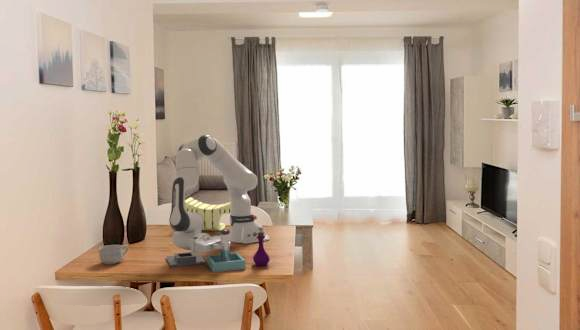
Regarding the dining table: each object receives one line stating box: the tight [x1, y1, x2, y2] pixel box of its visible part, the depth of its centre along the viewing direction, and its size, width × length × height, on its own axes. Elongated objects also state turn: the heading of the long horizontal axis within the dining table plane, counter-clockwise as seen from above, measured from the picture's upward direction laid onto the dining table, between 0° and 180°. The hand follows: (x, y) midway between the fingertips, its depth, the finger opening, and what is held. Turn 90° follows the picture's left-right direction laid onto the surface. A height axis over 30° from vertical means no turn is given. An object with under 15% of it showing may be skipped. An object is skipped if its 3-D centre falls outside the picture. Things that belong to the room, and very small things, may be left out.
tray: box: [205, 252, 247, 273], centre depth 273 cm, size 15×15×4 cm
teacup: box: [98, 244, 129, 265], centre depth 281 cm, size 14×11×8 cm
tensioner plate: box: [165, 251, 206, 268], centre depth 283 cm, size 16×16×3 cm
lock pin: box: [219, 229, 231, 262], centre depth 272 cm, size 4×4×14 cm
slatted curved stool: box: [185, 196, 231, 232], centre depth 354 cm, size 30×16×18 cm, turn 83°
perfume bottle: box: [252, 226, 271, 267], centre depth 273 cm, size 8×8×18 cm
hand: (226, 245), depth 271 cm, fingers closed on lock pin, 4 cm apart
